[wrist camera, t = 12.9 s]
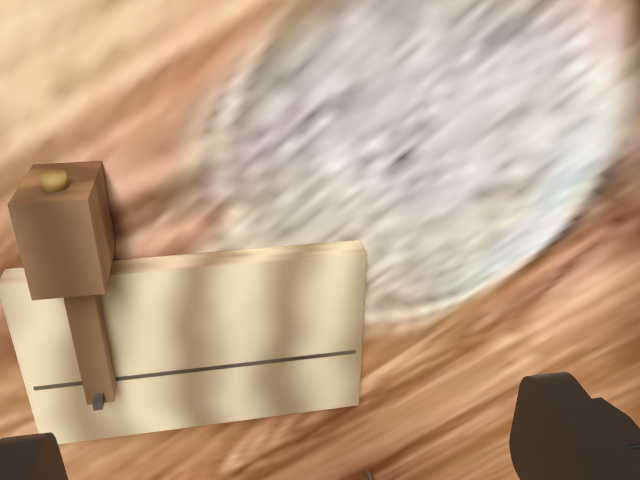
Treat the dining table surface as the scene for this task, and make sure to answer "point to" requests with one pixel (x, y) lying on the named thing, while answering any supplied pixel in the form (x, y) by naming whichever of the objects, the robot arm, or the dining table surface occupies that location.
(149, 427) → the board
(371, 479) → the grey storage bin
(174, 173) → the dining table surface
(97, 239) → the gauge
